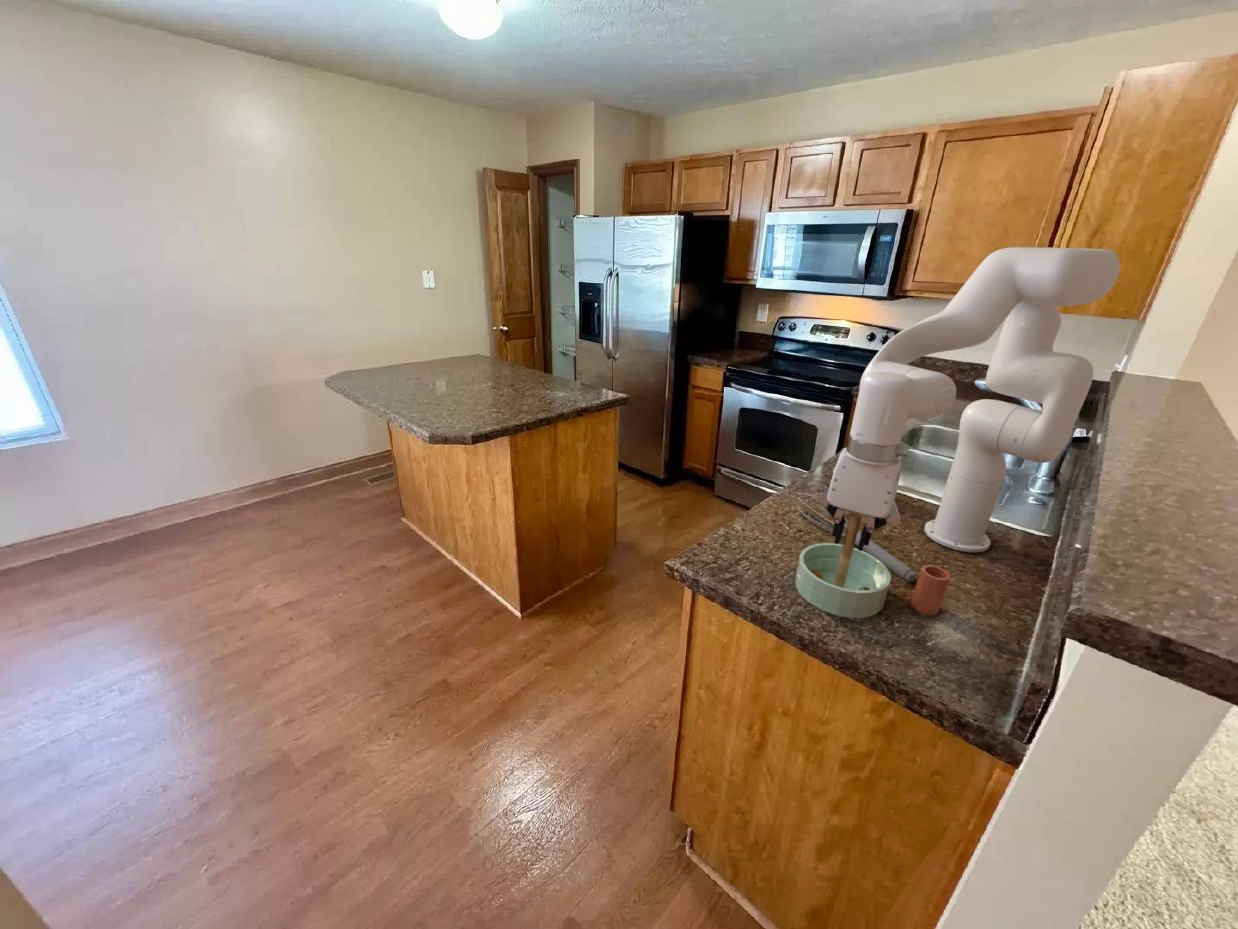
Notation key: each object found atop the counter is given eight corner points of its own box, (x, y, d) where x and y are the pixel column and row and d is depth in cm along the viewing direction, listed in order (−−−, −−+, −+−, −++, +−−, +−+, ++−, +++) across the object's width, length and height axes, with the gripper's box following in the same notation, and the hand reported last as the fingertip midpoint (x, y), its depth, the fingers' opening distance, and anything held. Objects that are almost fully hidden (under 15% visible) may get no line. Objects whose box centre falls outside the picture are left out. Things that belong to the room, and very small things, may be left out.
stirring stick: (833, 586, 97) (851, 512, 90) (843, 589, 96) (862, 514, 89) (831, 591, 95) (849, 516, 89) (841, 594, 94) (860, 519, 88)
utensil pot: (911, 598, 95) (922, 561, 92) (938, 607, 93) (951, 570, 89) (908, 611, 91) (920, 574, 88) (937, 620, 89) (950, 583, 86)
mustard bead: (810, 575, 100) (812, 565, 99) (823, 579, 98) (825, 569, 97) (807, 581, 98) (809, 571, 97) (820, 586, 97) (822, 575, 96)
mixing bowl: (806, 559, 106) (811, 534, 103) (888, 586, 98) (895, 559, 96) (784, 599, 94) (789, 572, 91) (875, 633, 86) (884, 604, 84)
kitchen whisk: (909, 594, 96) (917, 565, 93) (788, 512, 124) (792, 489, 122) (932, 586, 98) (941, 559, 96) (808, 508, 127) (813, 485, 124)
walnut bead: (858, 593, 95) (861, 582, 94) (872, 597, 94) (875, 587, 93) (855, 600, 93) (858, 589, 92) (870, 604, 92) (873, 594, 91)
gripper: (930, 452, 83) (902, 548, 90) (825, 431, 91) (807, 521, 98) (927, 468, 77) (897, 569, 85) (814, 444, 85) (797, 538, 93)
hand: (849, 542), depth 91 cm, fingers open, 3 cm apart
